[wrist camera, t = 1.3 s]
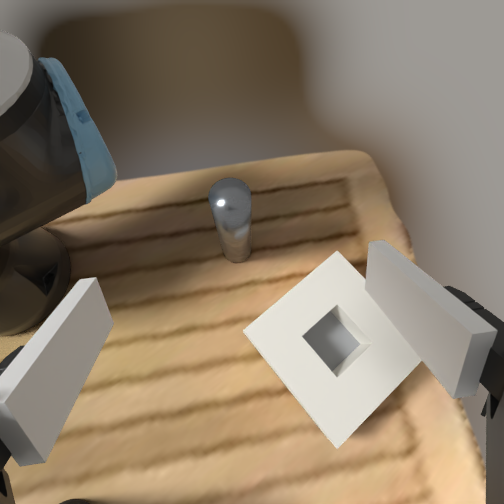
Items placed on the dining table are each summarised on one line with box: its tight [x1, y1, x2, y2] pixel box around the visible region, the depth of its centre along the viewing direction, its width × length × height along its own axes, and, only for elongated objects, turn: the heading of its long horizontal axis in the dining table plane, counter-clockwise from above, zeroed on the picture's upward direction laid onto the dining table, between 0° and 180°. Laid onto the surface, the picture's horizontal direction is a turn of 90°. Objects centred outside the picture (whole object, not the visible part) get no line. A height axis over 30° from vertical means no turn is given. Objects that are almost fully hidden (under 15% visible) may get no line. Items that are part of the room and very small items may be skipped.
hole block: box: [243, 251, 422, 449], centre depth 36 cm, size 15×15×5 cm
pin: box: [209, 178, 251, 263], centre depth 35 cm, size 4×4×15 cm
